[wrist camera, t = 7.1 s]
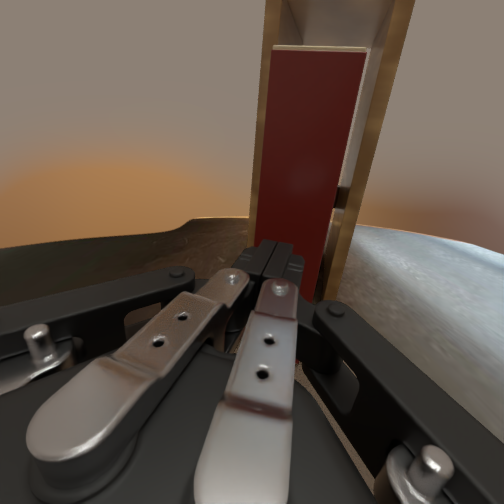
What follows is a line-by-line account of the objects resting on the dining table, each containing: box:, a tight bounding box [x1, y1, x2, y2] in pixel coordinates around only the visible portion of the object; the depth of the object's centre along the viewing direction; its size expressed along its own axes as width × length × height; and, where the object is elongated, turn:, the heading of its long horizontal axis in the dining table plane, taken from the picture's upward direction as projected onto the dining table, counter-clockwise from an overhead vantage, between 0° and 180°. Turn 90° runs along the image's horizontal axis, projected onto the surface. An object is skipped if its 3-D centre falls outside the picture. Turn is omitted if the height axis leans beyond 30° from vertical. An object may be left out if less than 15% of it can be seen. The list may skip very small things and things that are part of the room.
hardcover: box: [254, 45, 367, 364], centre depth 24 cm, size 5×15×21 cm, turn 164°
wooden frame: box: [247, 0, 415, 301], centre depth 30 cm, size 10×15×27 cm, turn 164°
